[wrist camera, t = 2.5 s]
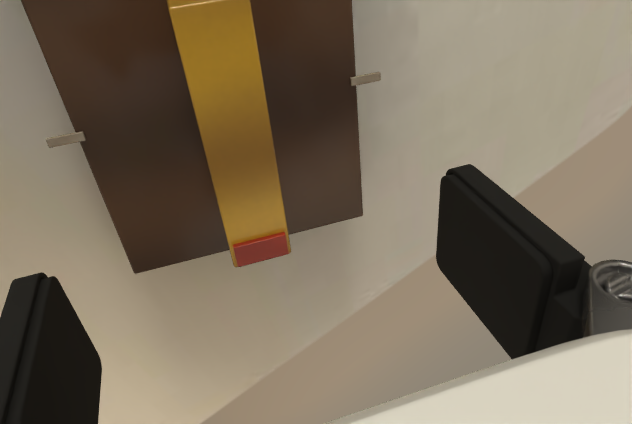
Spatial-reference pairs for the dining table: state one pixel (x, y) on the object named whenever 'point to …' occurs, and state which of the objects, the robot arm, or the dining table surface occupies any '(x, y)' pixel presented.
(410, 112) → the dining table surface
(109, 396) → the dining table surface
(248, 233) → the yellow block
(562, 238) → the robot arm
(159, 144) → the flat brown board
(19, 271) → the dining table surface
